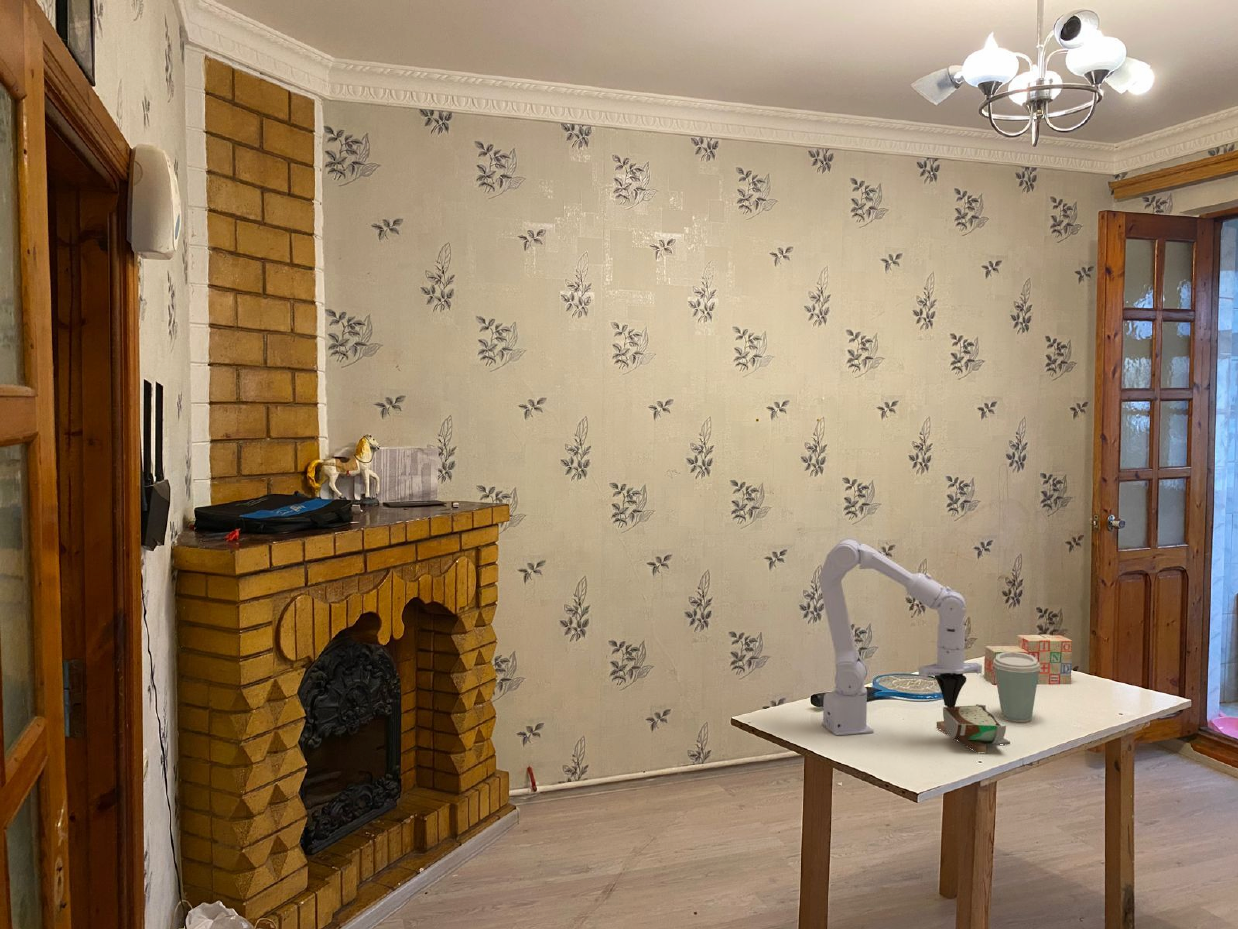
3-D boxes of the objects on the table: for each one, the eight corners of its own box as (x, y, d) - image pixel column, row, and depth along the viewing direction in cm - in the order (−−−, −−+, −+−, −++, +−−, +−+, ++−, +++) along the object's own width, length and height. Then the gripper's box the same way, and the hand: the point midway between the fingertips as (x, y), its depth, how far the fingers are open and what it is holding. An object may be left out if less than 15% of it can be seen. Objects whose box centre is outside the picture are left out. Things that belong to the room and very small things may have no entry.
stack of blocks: (993, 685, 246) (994, 640, 245) (983, 679, 252) (984, 635, 252) (1071, 684, 247) (1072, 640, 246) (1059, 678, 253) (1060, 634, 252)
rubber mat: (978, 747, 201) (978, 744, 201) (947, 728, 213) (947, 726, 213) (1010, 744, 203) (1010, 742, 203) (978, 726, 214) (978, 723, 214)
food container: (959, 754, 197) (1005, 754, 197) (960, 727, 196) (1007, 727, 196) (939, 730, 209) (983, 729, 209) (940, 704, 208) (984, 704, 208)
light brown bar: (977, 753, 198) (977, 746, 198) (936, 728, 213) (936, 721, 213) (985, 752, 198) (985, 745, 198) (944, 727, 214) (944, 721, 214)
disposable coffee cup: (1044, 727, 213) (1046, 664, 213) (995, 724, 216) (996, 661, 215) (1034, 712, 224) (1035, 652, 223) (987, 709, 226) (989, 650, 225)
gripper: (931, 653, 198) (929, 714, 199) (990, 649, 201) (989, 709, 202) (914, 644, 205) (912, 704, 206) (971, 641, 208) (970, 699, 209)
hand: (949, 706), depth 205 cm, fingers closed
